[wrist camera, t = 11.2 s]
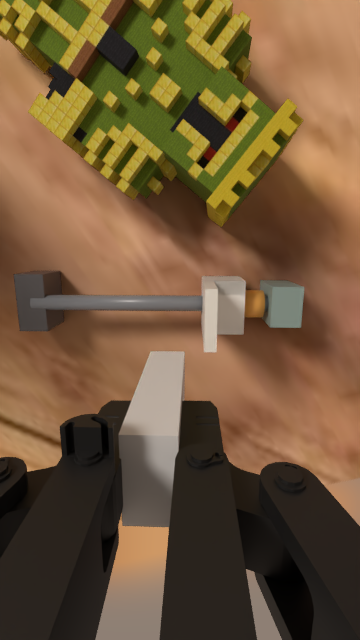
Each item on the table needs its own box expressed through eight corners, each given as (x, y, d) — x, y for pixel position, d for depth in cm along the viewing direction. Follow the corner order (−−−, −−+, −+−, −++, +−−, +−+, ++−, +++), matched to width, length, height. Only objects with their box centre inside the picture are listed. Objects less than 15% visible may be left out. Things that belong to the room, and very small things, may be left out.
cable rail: (39, 321, 40) (13, 334, 34) (34, 270, 39) (6, 275, 33) (284, 323, 39) (300, 337, 33) (287, 271, 37) (305, 276, 32)
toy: (17, -223, 23) (343, 70, 24) (77, -76, 33) (305, 125, 34) (-98, 6, 26) (194, 253, 28) (-11, 76, 36) (199, 254, 38)
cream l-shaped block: (201, 322, 38) (204, 352, 27) (201, 275, 37) (205, 289, 26) (236, 322, 38) (253, 352, 27) (238, 275, 36) (256, 289, 26)
